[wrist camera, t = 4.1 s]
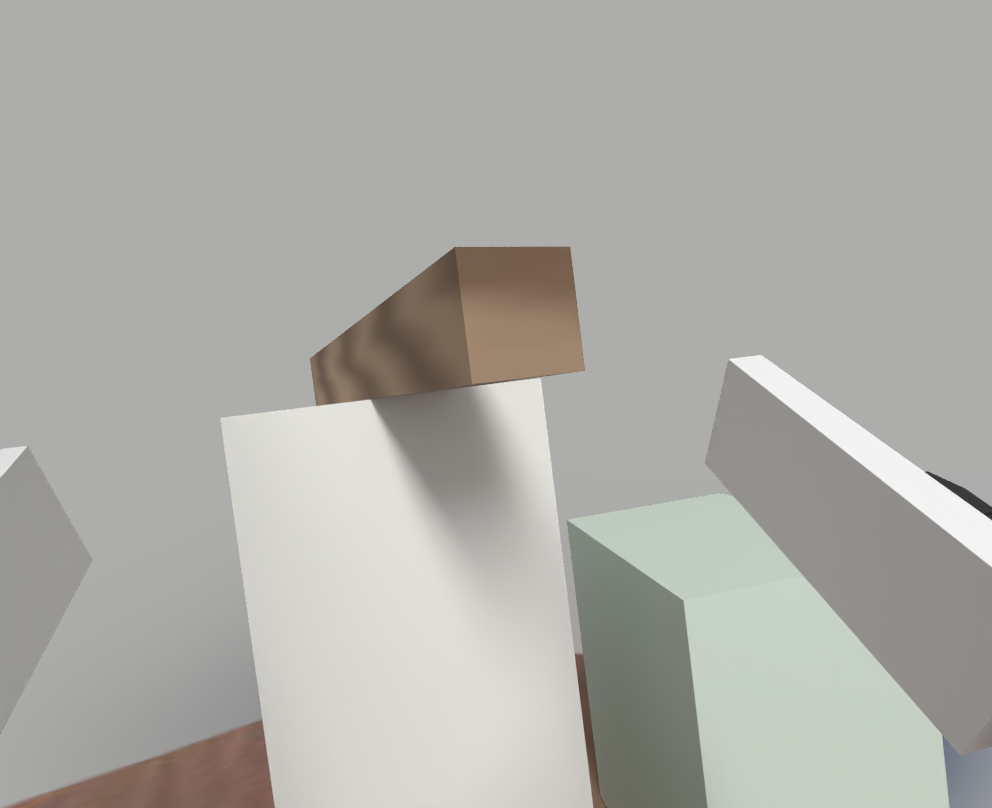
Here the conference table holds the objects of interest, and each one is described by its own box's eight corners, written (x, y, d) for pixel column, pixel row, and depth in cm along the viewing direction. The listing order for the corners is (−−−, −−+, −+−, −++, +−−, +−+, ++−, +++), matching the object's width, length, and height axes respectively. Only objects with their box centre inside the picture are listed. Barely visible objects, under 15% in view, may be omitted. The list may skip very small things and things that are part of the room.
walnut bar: (585, 370, 13) (570, 247, 13) (472, 383, 12) (454, 247, 12) (365, 401, 35) (359, 354, 35) (316, 407, 34) (310, 358, 34)
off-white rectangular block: (628, 1096, 23) (540, 378, 22) (331, 1208, 21) (220, 418, 20) (533, 813, 39) (479, 387, 38) (358, 860, 37) (296, 410, 36)
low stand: (965, 969, 26) (922, 550, 25) (736, 1056, 24) (683, 600, 23) (750, 755, 42) (720, 493, 41) (600, 795, 40) (566, 519, 39)
